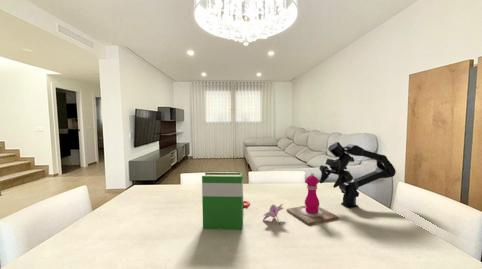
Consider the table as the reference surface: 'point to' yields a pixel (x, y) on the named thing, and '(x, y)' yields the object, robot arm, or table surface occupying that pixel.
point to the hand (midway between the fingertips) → (326, 185)
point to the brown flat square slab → (312, 215)
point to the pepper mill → (312, 195)
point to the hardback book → (222, 201)
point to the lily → (273, 212)
